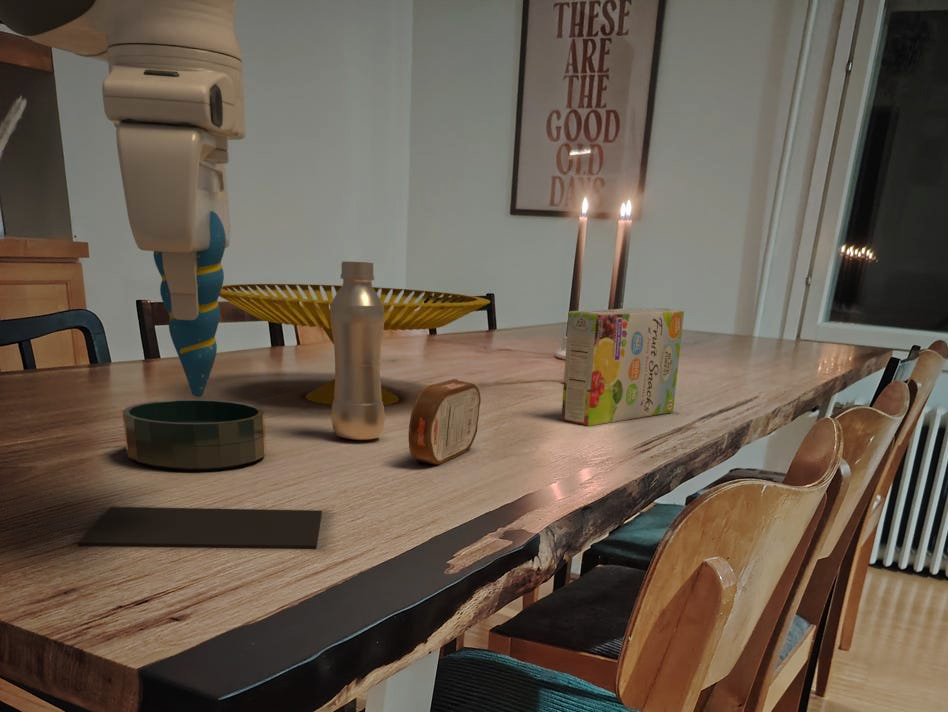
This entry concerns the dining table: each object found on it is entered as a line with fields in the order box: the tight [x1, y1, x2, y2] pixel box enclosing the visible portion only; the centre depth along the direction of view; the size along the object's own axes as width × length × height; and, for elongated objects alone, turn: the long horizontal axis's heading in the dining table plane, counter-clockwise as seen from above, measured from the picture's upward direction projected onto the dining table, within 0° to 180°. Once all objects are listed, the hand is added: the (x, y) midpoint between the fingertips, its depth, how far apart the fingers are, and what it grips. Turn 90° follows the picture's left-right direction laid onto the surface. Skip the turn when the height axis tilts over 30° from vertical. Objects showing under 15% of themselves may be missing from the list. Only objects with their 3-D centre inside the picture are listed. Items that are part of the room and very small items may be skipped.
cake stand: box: [219, 283, 491, 406], centre depth 137 cm, size 40×40×15 cm
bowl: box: [121, 399, 267, 472], centre depth 98 cm, size 14×14×5 cm
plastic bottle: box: [329, 260, 386, 442], centre depth 108 cm, size 6×7×20 cm
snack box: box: [560, 307, 685, 427], centre depth 133 cm, size 21×6×15 cm, turn 136°
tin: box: [408, 378, 481, 466], centre depth 104 cm, size 15×3×8 cm, turn 159°
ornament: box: [153, 211, 226, 398], centre depth 69 cm, size 5×5×15 cm
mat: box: [77, 506, 323, 550], centre depth 76 cm, size 18×10×1 cm, turn 97°
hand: (193, 315), depth 70 cm, fingers closed on ornament, 4 cm apart
